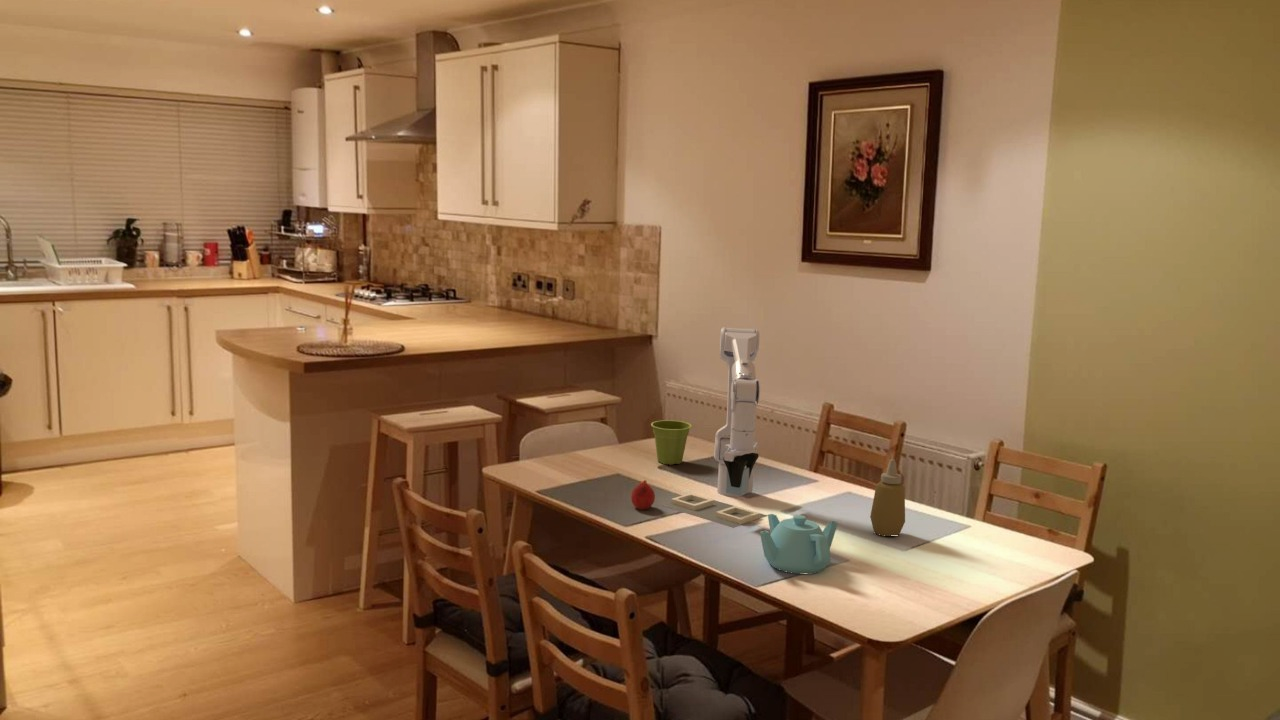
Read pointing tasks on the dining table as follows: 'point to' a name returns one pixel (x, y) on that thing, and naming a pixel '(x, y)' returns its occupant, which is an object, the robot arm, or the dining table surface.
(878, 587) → the dining table surface
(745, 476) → the plug
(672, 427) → the plant pot
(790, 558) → the teapot
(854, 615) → the dining table surface
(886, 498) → the squeeze bottle
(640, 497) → the red pomegranate
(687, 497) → the panel
